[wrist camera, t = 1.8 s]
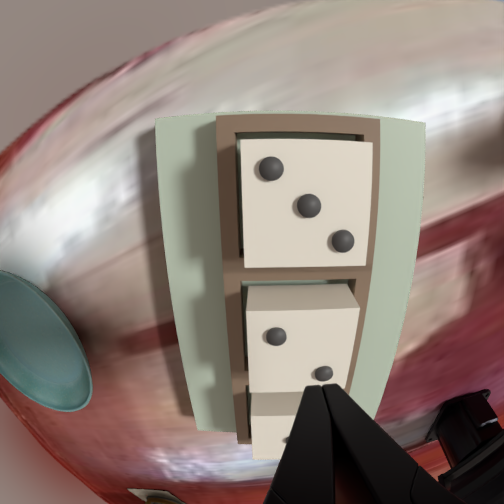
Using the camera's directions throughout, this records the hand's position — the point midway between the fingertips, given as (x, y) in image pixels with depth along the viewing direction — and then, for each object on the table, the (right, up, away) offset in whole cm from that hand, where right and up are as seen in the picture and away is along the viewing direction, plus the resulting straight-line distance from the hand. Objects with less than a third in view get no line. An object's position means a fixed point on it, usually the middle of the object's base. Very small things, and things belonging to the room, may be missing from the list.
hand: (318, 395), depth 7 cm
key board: (+1, +1, +12) cm, 12 cm away
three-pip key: (0, +6, +7) cm, 9 cm away
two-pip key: (+1, 0, +9) cm, 9 cm away
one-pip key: (+1, -7, +11) cm, 13 cm away
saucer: (-21, -4, +15) cm, 26 cm away
